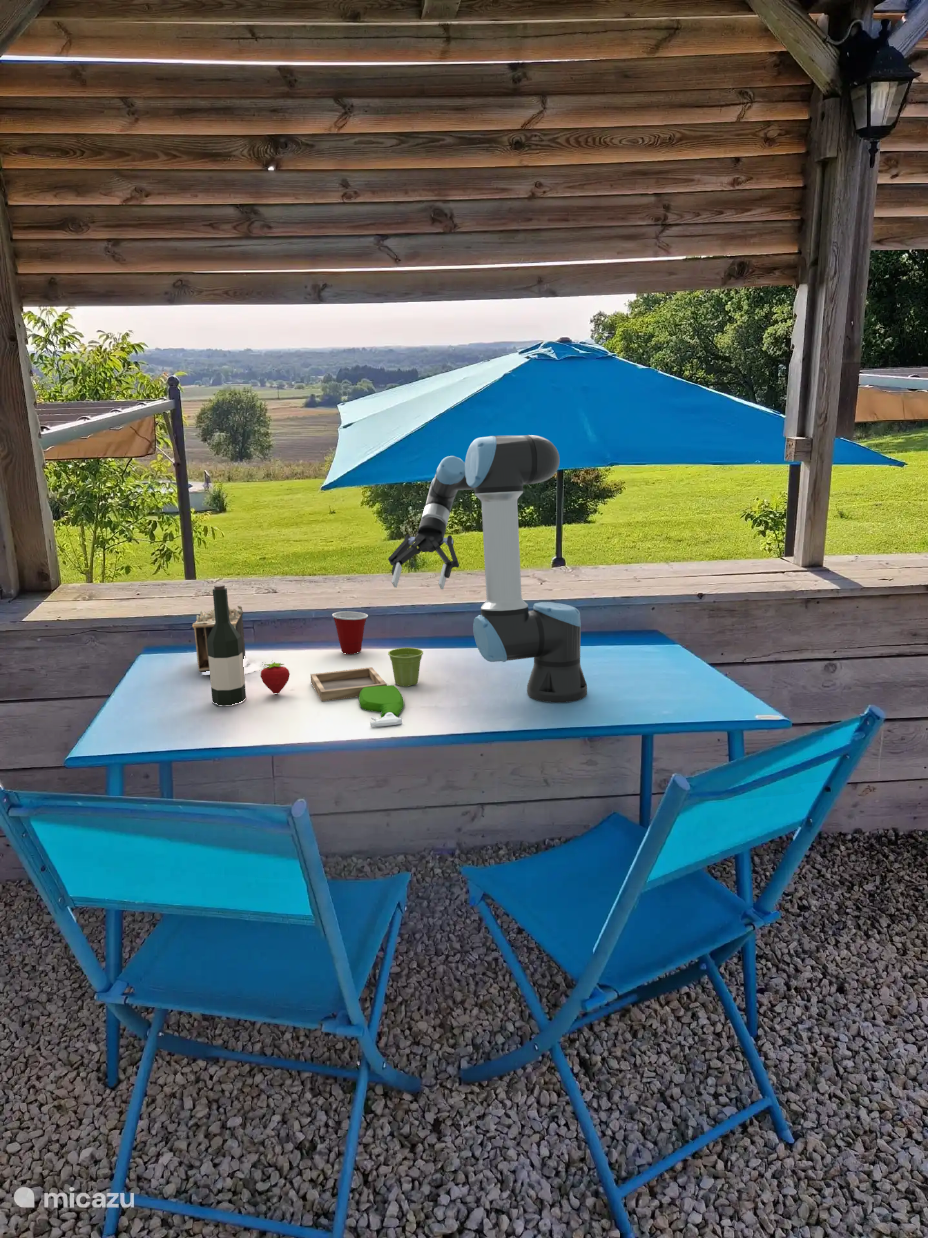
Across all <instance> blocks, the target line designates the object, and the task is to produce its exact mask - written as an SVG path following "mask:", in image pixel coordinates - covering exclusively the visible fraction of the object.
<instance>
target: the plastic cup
mask: <svg viewBox="0 0 928 1238" xmlns="http://www.w3.org/2000/svg"><path fill="white" fill-rule="evenodd" d="M331 615H332V618H333V620H334V624H335V628H336V632H337V633H336V634H337V637H338V638H337V639H338V642H339V644H340V651H341V653H342V652H343V653H346V654H345V655H355V654H354V653H357V652H360V651H362V647H363V646H362V645H363V639H364V631H365V625H366V622H367V621H366V620H367V618H369V617H368V616H369V615H368V614H367V613H364V612H360V611H359V612H358V611H337V612H334V613H332V614H331ZM343 653H342V654H343ZM360 653H361V652H360ZM357 654H358V653H357Z"/></svg>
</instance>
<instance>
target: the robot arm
mask: <svg viewBox="0 0 928 1238" xmlns="http://www.w3.org/2000/svg"><path fill="white" fill-rule="evenodd" d="M560 461H561V460H560V453H559V451H558V449H557V447H556V446H555V445H554V443H553V442H552V441H550V440H549V439H547V438H545V437H544V436H540V435H532V434H531V435H530V434H527V435H489V436H482V437H477V438H475V439H474V440H473V441H472V442H471V443H470V445H469V446H468V449H467V452H466V455H465V461H463V459H461V458H460V457H457V456H455V455H450V456H449V455H448V456H446V457H444V458H443V459H441V461H440V463H439V464H438V466H437V468H436V472H435V473H434V474H435V475H434V478H432V480H431V483H430V485H429V489H428V494H427V497H426V501H425V505H424V507H423V508H424V509H423V512H422V516H421V518H420V519H421V520H420V523H419V526H418V530H417V534H416V535H415V536H411V535H410V534H409V533H408V534H406V535H405V537H404V539H403V541H402V542H400V543H401V544H399V545H398V547H396V549H395V550H394V551H393V553H391V555H390V556H389V557H388V558H387V560H388V562H389V564H390V566H392V568H391V574H392V578H391V581H390V582H391V584H392V586H393V588H398V584H399V581H400V577H401V574H402V570H403V568H402V566H403V565H405V563H406V562H408V561H409V560H410V559H412V558H413V557H414V556H416V555H418V554H420V553H434V552H436V553H437V555H439V557H440V558H441V560H442V562H444V563H442V568H441V572H440V576H439V580H438V586H439V588H440V590H444V589H445V584H446V580H447V579H450V577H451V573H452V569H453V568H460V563H459V560H458V556H457V554H456V551H455V547H454V543H455V541H454V539H453V535H448V536H447V537H445V534H446V530H447V526H448V522H449V519H450V514H451V511H452V507H453V504H454V501H455V498H456V495H457V494H458V491H464V490H465V491H467V490H468V491H469V490H474V496H475V497H477V499H479V500H480V502H481V515H482V520H481V521H482V536H483V537H482V539H483V555H484V556H483V557H484V577H485V595H486V597H485V598H486V599H485V602H483V604H482V605H481V606H480V614H478V615H477V616H476V617H475V618H474V619H473V625H472V631H473V636H474V641H475V644H476V647H477V650H478V651H479V653H480V655H481V657H482V658H483V659H484V660H486V661H487V662H490V663H495V662H496V663H497V662H498V663H499V662H502V663H506V662H507V661H517V660H522V659H523V660H525V659H533V666H532V670H531V672H530V676H529V679H528V682H527V685H526V686H527V688H526V694H527V695H528V697H529V698H531V699H533V700H535V701H539V702H543V703H554V704H555V703H559V704H560V703H571V702H577V701H579V700H582V699H584V698H586V697H587V696H588V685H587V682H586V678H585V676H584V672H583V669H582V666H581V639H582V638H581V633H582V632H581V631H582V630H581V627H582V624H581V623H582V622H581V613H580V610H579V609H577V608H576V607H574V606H572V605H568V604H564V603H559V602H550V601H549V602H547V601H546V602H545V601H542V602H541V601H540V602H536V603H534V604H533V607H532V609H533V610H529V604H528V603H527V602H526V601H524V599H523V598H522V597H523V596H522V578H521V555H520V531H519V511H518V499H519V497H521V496H522V495H523V493H524V485H533V484H538V483H539V484H540V483H544V482H546V481H548V480H550V479H551V478H553V476H554V475H555V474H556V473H557V472H558V470H559V467H560ZM443 544H445V545H446V546H447V547H448V551H449V553H450V557H451V559H452V560H451V559H449V557H448V556H447V554H446V553H445V552H444V550H443V548H441V546H442V545H443Z"/></svg>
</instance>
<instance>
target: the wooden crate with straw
mask: <svg viewBox="0 0 928 1238" xmlns="http://www.w3.org/2000/svg"><path fill="white" fill-rule="evenodd" d="M228 609H229V620H230V622H231V624H232V625H233V626H234V628H235V629H236V630H237V632H238V633H239V634H240V636H241V643H242V655H243V659H244V656H245V657H246V643H245V633H244V623H243V622H244V620H243V615H244V611H243V607H242V606H241V605H237V609H238V610H237V609H236V608H233V609H231V608H230V606H229V605H228ZM199 613H200V615H198V614H196V617H195V618H196V621H195V622H193V623H192V625H191V626H192V628H193V632H194V638H195V639H194V640H195V649H196V659H197V660H196V661H197V668H198V672H199V673H201V672H206V671H210V669H209V658H208V647H207V638H208V636H209V634H210V632H211V630H212V628H213V626H214V624H215V611H214V608H213V609H211V611H210V610H209V611H207V612H205V611H204V612H203V611H202V610H201V611H200V612H199Z"/></svg>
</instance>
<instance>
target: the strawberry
mask: <svg viewBox="0 0 928 1238" xmlns="http://www.w3.org/2000/svg"><path fill="white" fill-rule="evenodd" d="M263 664H264V666H265V667H264V668H263V669H261V671H260V678H261V680H262V683H263V684H264V685H265V686H266V687H267V689H269V690H270V691H271V692H272V693H273V694H274V693H279V694H280V693H281V691H282V690H283V689H284V688H285V686H286V685H287V684H288V682H289V679H290V675H291V673H290V670H289V668H287V667H285V663H281V662H275V661H274V662H271V663H263Z"/></svg>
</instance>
